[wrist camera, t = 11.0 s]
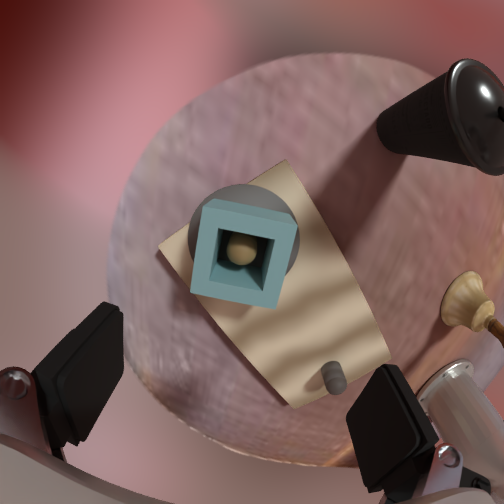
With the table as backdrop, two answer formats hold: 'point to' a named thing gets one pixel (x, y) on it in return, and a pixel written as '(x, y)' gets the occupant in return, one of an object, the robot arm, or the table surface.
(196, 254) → the collar
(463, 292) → the hand bell
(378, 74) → the table surface
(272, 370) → the base board
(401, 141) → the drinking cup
